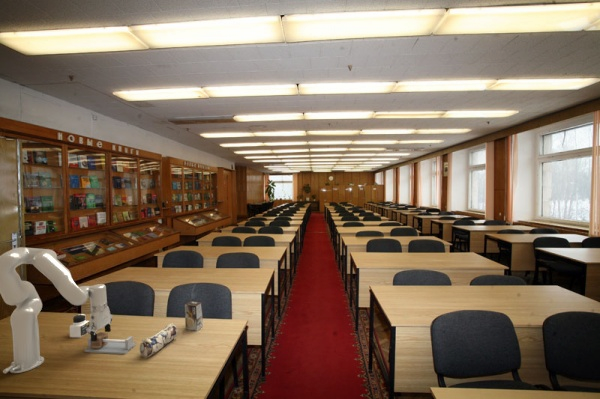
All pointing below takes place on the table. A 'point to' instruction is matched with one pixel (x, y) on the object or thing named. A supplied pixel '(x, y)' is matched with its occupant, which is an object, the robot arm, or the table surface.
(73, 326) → the medicine bottle
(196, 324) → the coffee box
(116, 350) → the rail
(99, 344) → the keeper
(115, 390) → the table surface
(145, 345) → the pencil case
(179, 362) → the table surface
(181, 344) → the table surface
